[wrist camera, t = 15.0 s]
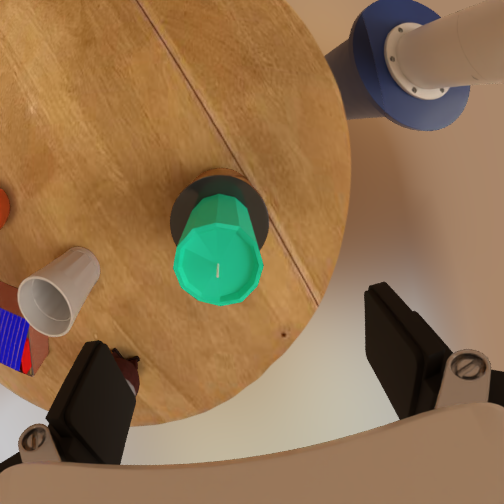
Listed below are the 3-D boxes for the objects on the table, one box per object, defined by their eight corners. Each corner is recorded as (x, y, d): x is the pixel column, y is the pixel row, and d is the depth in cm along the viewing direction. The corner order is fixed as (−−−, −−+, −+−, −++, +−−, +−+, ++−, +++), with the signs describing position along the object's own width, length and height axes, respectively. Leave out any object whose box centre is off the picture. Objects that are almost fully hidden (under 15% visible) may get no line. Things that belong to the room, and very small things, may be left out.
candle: (262, 233, 32) (283, 289, 20) (210, 264, 32) (204, 332, 21) (230, 181, 30) (233, 210, 18) (177, 215, 30) (150, 262, 19)
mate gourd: (129, 340, 47) (103, 409, 33) (155, 375, 49) (140, 445, 35) (95, 353, 47) (65, 417, 33) (121, 385, 50) (100, 451, 36)
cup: (115, 271, 43) (85, 315, 31) (84, 301, 44) (52, 347, 33) (78, 229, 40) (36, 262, 29) (49, 263, 41) (8, 300, 30)
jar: (250, 158, 39) (258, 165, 29) (265, 230, 42) (277, 259, 33) (174, 175, 39) (158, 188, 29) (193, 246, 42) (184, 279, 33)
